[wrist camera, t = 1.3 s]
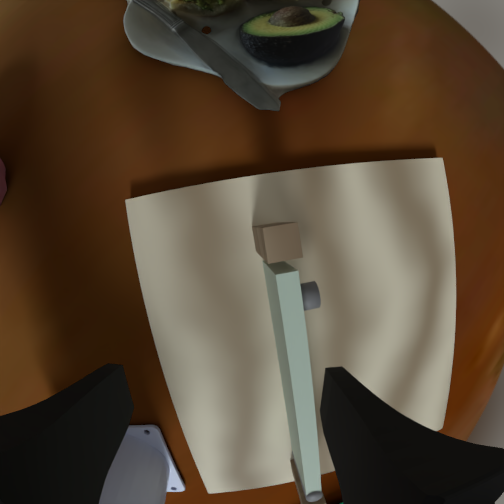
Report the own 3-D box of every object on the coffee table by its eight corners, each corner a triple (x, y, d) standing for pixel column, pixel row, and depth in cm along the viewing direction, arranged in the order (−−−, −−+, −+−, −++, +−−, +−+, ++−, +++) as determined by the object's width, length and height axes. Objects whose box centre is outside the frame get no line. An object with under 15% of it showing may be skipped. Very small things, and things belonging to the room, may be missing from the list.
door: (292, 456, 20) (306, 503, 15) (261, 260, 18) (274, 275, 13) (320, 450, 20) (339, 494, 15) (298, 254, 18) (325, 265, 13)
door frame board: (208, 485, 21) (207, 540, 15) (129, 200, 18) (87, 191, 12) (437, 423, 22) (473, 457, 16) (434, 159, 20) (492, 145, 13)
